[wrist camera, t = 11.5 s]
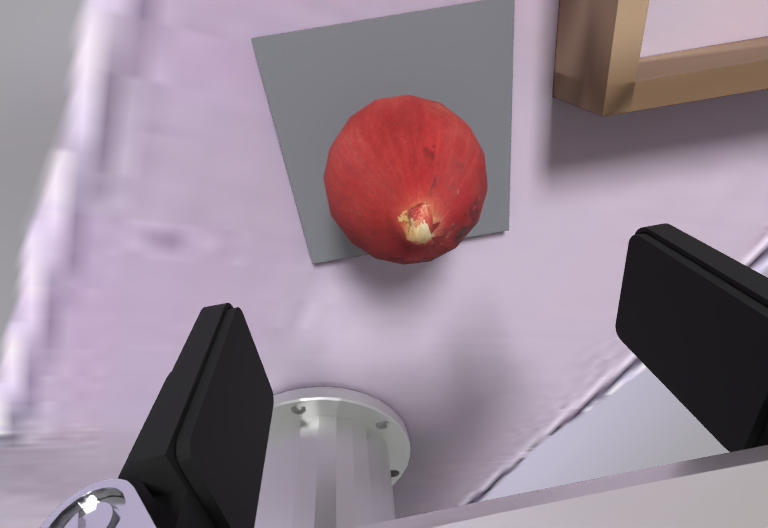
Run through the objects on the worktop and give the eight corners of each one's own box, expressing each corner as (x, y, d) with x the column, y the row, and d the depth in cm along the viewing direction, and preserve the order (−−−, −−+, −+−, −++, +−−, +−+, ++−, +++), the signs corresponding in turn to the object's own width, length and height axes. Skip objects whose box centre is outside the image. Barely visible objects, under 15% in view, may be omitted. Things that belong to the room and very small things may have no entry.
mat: (505, 226, 21) (508, 230, 21) (312, 258, 21) (312, 263, 21) (509, -4, 16) (514, -5, 16) (253, 38, 16) (250, 38, 15)
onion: (485, 137, 18) (573, 211, 11) (405, 234, 20) (439, 345, 14) (379, 49, 16) (409, 77, 9) (301, 168, 18) (280, 262, 11)
